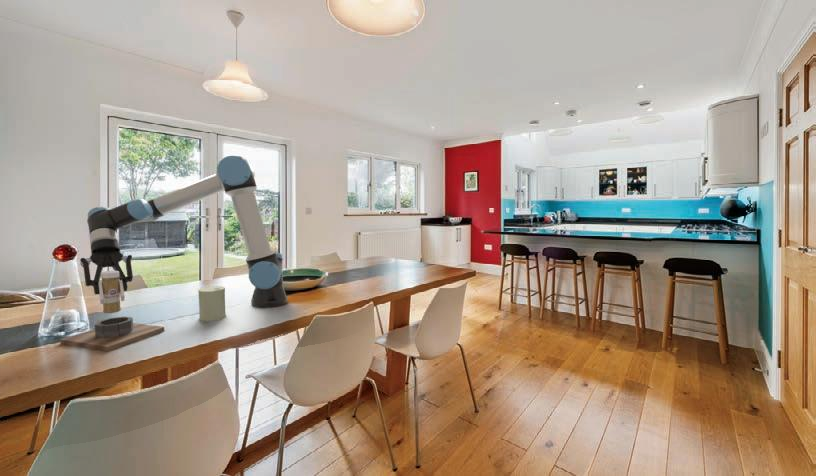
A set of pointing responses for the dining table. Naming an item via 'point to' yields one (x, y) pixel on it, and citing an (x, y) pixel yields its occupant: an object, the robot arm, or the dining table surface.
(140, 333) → the bottle holder
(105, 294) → the sprinkles bottle
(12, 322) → the dining table surface
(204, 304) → the can
